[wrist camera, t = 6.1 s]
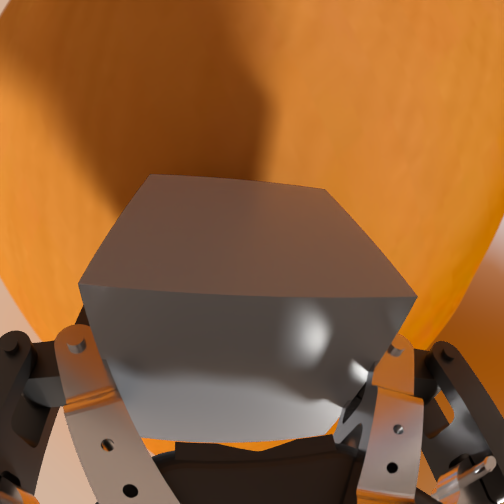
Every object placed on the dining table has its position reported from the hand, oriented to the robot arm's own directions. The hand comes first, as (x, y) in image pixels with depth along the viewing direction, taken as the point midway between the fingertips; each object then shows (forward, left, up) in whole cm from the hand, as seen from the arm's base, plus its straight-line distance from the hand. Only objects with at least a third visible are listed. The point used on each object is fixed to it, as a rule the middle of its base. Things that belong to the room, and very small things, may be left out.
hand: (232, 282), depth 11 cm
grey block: (0, 0, -2) cm, 2 cm away
